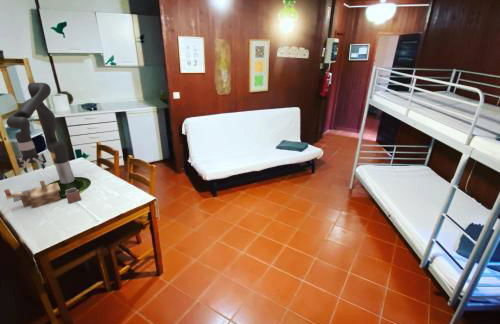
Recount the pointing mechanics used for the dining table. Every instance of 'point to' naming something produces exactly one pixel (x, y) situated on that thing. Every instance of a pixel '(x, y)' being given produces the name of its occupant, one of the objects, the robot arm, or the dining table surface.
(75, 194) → the lighter
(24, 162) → the robot arm
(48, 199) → the toolbox
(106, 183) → the dining table surface
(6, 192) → the wooden block with peg
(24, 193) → the mat
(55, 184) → the lid
